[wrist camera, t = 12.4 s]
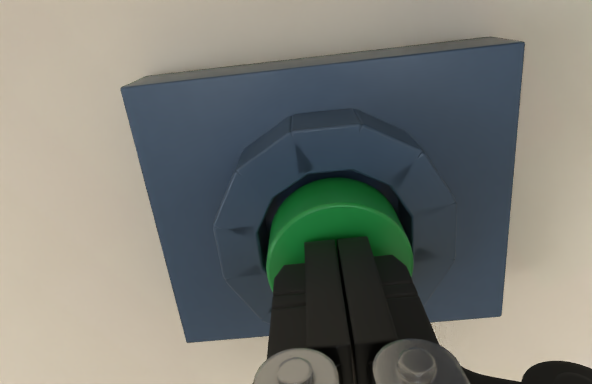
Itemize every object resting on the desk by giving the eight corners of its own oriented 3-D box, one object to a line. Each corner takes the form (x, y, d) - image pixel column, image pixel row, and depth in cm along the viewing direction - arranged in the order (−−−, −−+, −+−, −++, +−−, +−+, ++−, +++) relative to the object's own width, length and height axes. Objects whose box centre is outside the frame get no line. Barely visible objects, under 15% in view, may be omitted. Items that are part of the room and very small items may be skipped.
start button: (397, 169, 12) (414, 195, 10) (400, 284, 13) (414, 324, 11) (261, 182, 12) (255, 211, 10) (278, 295, 13) (276, 335, 11)
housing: (492, 36, 14) (564, 46, 10) (478, 280, 17) (527, 355, 13) (144, 75, 14) (90, 100, 10) (199, 304, 18) (172, 383, 14)
